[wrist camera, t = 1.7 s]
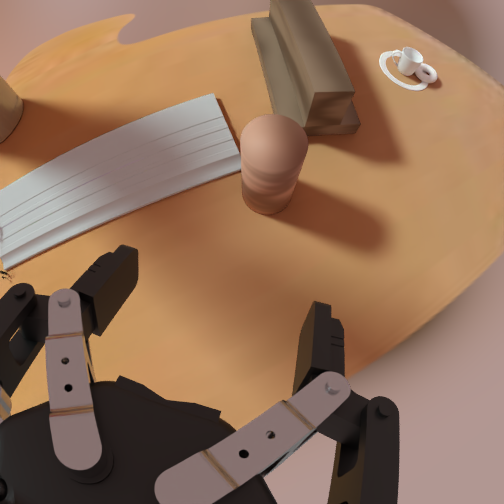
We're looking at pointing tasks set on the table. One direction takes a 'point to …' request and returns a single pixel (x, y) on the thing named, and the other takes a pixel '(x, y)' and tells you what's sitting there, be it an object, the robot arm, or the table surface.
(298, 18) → the ridge
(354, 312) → the table surface
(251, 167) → the pink domed cylinder
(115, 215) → the baseboard molding
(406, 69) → the teacup and saucer
